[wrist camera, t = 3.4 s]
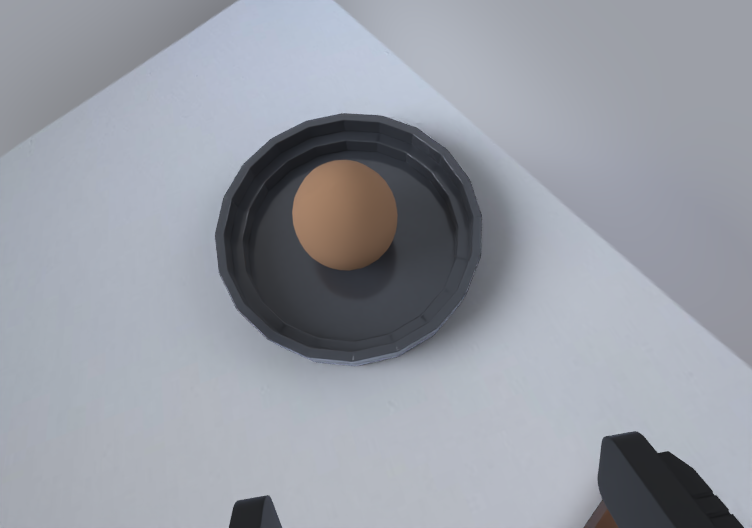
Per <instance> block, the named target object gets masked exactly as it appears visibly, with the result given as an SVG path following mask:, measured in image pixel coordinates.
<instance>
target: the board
mask: <svg viewBox="0 0 752 528" xmlns="http://www.w3.org/2000/svg"><path fill="white" fill-rule="evenodd" d="M584 528H619V527H618V526H617V524H616V522H615V521H614V519H613V517H612V516H611V514H610V512H609V511H608V509H607V507H606V505H605V503H604V501H603V500H602V501H601V503H600V504H599V506H598V507H597V509H596V510H595V512H594V513H593V514H592V516H591V517H590V519H589V520H588V522H587V523H586V525H585V526H584Z"/></svg>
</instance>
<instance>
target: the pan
mask: <svg viewBox="0 0 752 528" xmlns="http://www.w3.org/2000/svg"><path fill="white" fill-rule="evenodd" d="M334 160H351V161H357V162H359V163H361V164H364V165H366V166H367V167H369V168H371V169H372V170H374V171H375V172H377V173H378V174H379V175H380V176H381V177H382V178H383V179H384V180H385V181H386V183H387V184H388V186H389V188H390V189H391V191H392V193H393V196H394V199H395V202H396V207H397V214H398V216H397V229H396V232H395V235H394V238H393V241H392V243H391V244H390V246H389V248H388V249H387V251H386V252H385V253H384V254H383V255H382V256H381V257H380V258H379V259H378V260H376V261H375V262H373V263H371V264H370V265H368V266H366V267H364V268H360V269H355V270H350V271H347V270H337V269H332V268H329V267H327V266H324V265H322V264H321V263H319V262H318V261H316V260H315V259H313V258H312V257H311V256H310V255H309V254H308V253H307V252H306V251H305V249H304V248H303V246H302V245H301V243H300V241H299V239H298V237H297V235H296V232H295V228H294V225H293V215H292V210H293V203H294V197H295V195H296V193H297V191H298V189H299V187H300V185H301V184H302V182H303V180H304V179H305V177H306V176H307V175H308V174H309V173H310V172H311V171H312V170H313V169H315V168H316V167H318V166H320V165H322V164H325V163H327V162H331V161H334ZM481 236H482V215H481V212H480V209H479V206H478V203H477V200H476V196H475V193H474V190H473V187H472V184H471V181H470V179H469V178H468V176H467V175H466V174H465V172H464V171H463V170H462V168H461V167H460V166H459V164H458V163H457V162H456V160H455V159H454V158H453V156H452V155H451V154H450V152H449V151H448V150H447V149H446V148H444V147H443V146H441V145H440V144H439V143H437V142H436V141H434V140H433V139H432V138H430V137H429V136H427V135H426V134H425V133H423V132H422V131H421V130H419V129H418V128H416V127H413V126H410V125H407V124H404V123H401V122H398V121H396V120H393V119H390V118H387V117H384V116H379V115H363V114H346V113H344V114H338V115H333V116H328V117H323V118H318V119H313V120H308V121H305V122H303V123H301V124H299V125H297V126H295V127H293V128H291V129H289V130H287V131H285V132H283V133H281V134H279V135H277V136H275V137H273V138H272V139H270V140H269V141H268V142H267V143H266V144H265V145H264V146H263V147H262V148H260V149H259V150H258V151H257V152H256V153H255V154H254V155H253V156H252V157H251V158H250V159H248V160H247V161H246V162H245V163H244V165H242V167H241V169H240V171H239V172H238V174H237V176H236V177H235V179H234V181H233V182H232V184H231V186H230V187H229V189H228V191H227V192H226V194H225V196H224V198H223V202H222V206H221V211H220V215H219V219H218V224H217V228H216V232H215V240H216V250H217V259H218V268H219V273H220V276H221V278H222V281H223V283H224V285H225V287H226V289H227V291H228V293H229V295H230V297H231V299H232V301H233V303H234V305H235V307H236V309H237V310H238V311H239V312H240V313H241V314H242V315H243V316H244V317H245V318H246V319H247V320H248V321H249V322H250V323H251V324H252V325H253V326H254V327H255V328H256V329H257V330H258V331H259V332H260V333H261V334H262V335H263V336H264V337H266V338H267V339H268V340H270V341H271V342H273V343H275V344H276V345H278V346H280V347H282V348H285V349H287V350H289V351H291V352H293V353H296V354H298V355H300V356H302V357H304V358H307V359H309V360H311V361H313V362H318V363H329V364H339V365H349V366H360V365H364V364H369V363H373V362H377V361H382V360H386V359H391V358H395V357H398V356H400V355H402V354H404V353H405V352H407V351H409V350H410V349H412V348H414V347H415V346H417V345H419V344H420V343H422V342H424V341H425V340H427V339H429V338H430V337H432V336H433V335H434V334H435V333H436V332H437V331H438V330H439V329H440V328H441V326H442V325H443V324H444V323H445V322H446V321H447V319H448V318H449V317H450V316H451V315H452V314H453V312H454V311H455V310H456V309H457V308H458V306H459V305H460V304H461V302H462V300H463V299H464V297H465V295H466V293H467V291H468V288H469V286H470V283H471V281H472V278H473V275H474V273H475V270H476V268H477V265H478V263H479V260H480V256H481Z"/></svg>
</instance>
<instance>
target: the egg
mask: <svg viewBox="0 0 752 528" xmlns="http://www.w3.org/2000/svg"><path fill="white" fill-rule="evenodd" d="M292 215H293V225H294V228H295V232H296V235H297V237H298V239H299V241H300V243H301V245H302V246H303V248H304V249H305V251H306V252H307V253H308V254H309V255H310V256H311V257H312V258H313V259H315V260H316V261H318V262H319V263H321V264H322V265H324V266H327V267H329V268H332V269H337V270H347V271H350V270H355V269H360V268H364V267H366V266H368V265H370V264H371V263H373V262H375V261H376V260H378V259H379V258H380V257H381V256H382V255H383V254H384V253H385V252H386V251H387V249H388V248H389V246H390V244H391V243H392V241H393V238H394V235H395V232H396V229H397V216H398V214H397V207H396V202H395V199H394V196H393V193H392V191H391V189H390V188H389V186H388V184H387V183H386V181H385V180H384V179H383V178H382V177H381V176H380V175H379V174H378V173H377V172H375V171H374V170H372V169H371V168H369V167H367V166H366V165H364V164H361V163H359V162H357V161H351V160H334V161H331V162H327V163H325V164H322V165H320V166H318V167H316V168H315V169H313V170H312V171H311V172H310V173H309V174H308V175H307V176H306V177H305V179H304V180H303V182H302V184H301V185H300V187H299V189H298V191H297V193H296V195H295V197H294V203H293V210H292Z"/></svg>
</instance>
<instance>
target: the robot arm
mask: <svg viewBox="0 0 752 528" xmlns="http://www.w3.org/2000/svg"><path fill="white" fill-rule="evenodd" d="M598 486H599V490H600V494H601V496H602V499H603V501H604V503H605V505H606V507H607V509H608V511H609V512H610V514H611V516H612V517H613V519H614V521H615V522H616V524H617V526H618V527H619V528H744V527H743V526H742V525H741V523H740V522H739V521H738V520H737V519H736V518H735V516H734V515H733V514H732V515H731V514H730V513H729V511H728V510H729V509H728V508H727V507H726V506H725V505H724V504H723V502H722V501H721V500H720V499H719V498H718V497H717V496H716V495H714V494H713V492H712V490H711V489H710V487H709V486H708V485H707V484H706V483H705V482H704V480H703V479H702V478H701V477H700V476H699V475H698V473H697V472H696V471H695V470H694V469H693V468H692V467H690V466H689V465H687V464H686V463H685V462H683V461H682V460H680V459H679V458H677V457H676V456H674V455H673V454H672V453H670V452H669V451H668V452H662V453H657V452H656V451H655V450H654V448H653V447H652V446H651V445H650V443H649V442H648V441H647V440H646V438H645V437H644V436H643V435H642V434H640V433H639V432H636V431H634V432H628V433H623V434H617V435H612V436H606V437H604V438H603V440H602V445H601V453H600V462H599V471H598ZM229 528H282V526H281V523H280V521H279V518H278V515H277V513H276V510H275V507H274V505H273V502H272V499H271V497H270V496H269V495H267V496H261V497H255V498H250V499H244V500H239V501H237V502H236V503H235V505H234V507H233V511H232V516H231V520H230V525H229Z"/></svg>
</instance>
